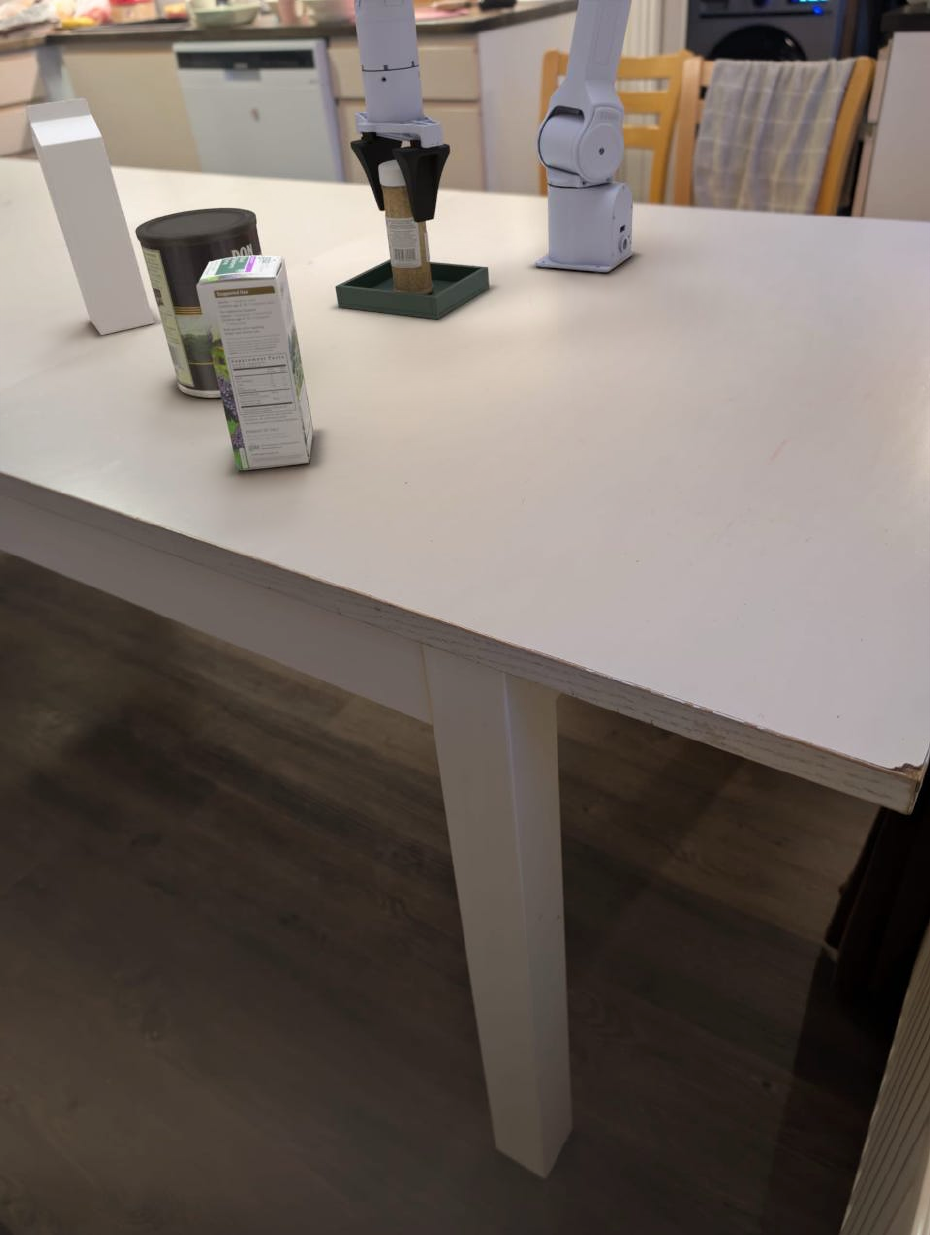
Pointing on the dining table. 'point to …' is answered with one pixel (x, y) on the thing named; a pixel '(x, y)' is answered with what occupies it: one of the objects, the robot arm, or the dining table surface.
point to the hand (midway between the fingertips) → (405, 214)
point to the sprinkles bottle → (404, 235)
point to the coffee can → (192, 281)
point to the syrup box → (257, 360)
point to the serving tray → (379, 295)
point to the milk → (89, 214)
